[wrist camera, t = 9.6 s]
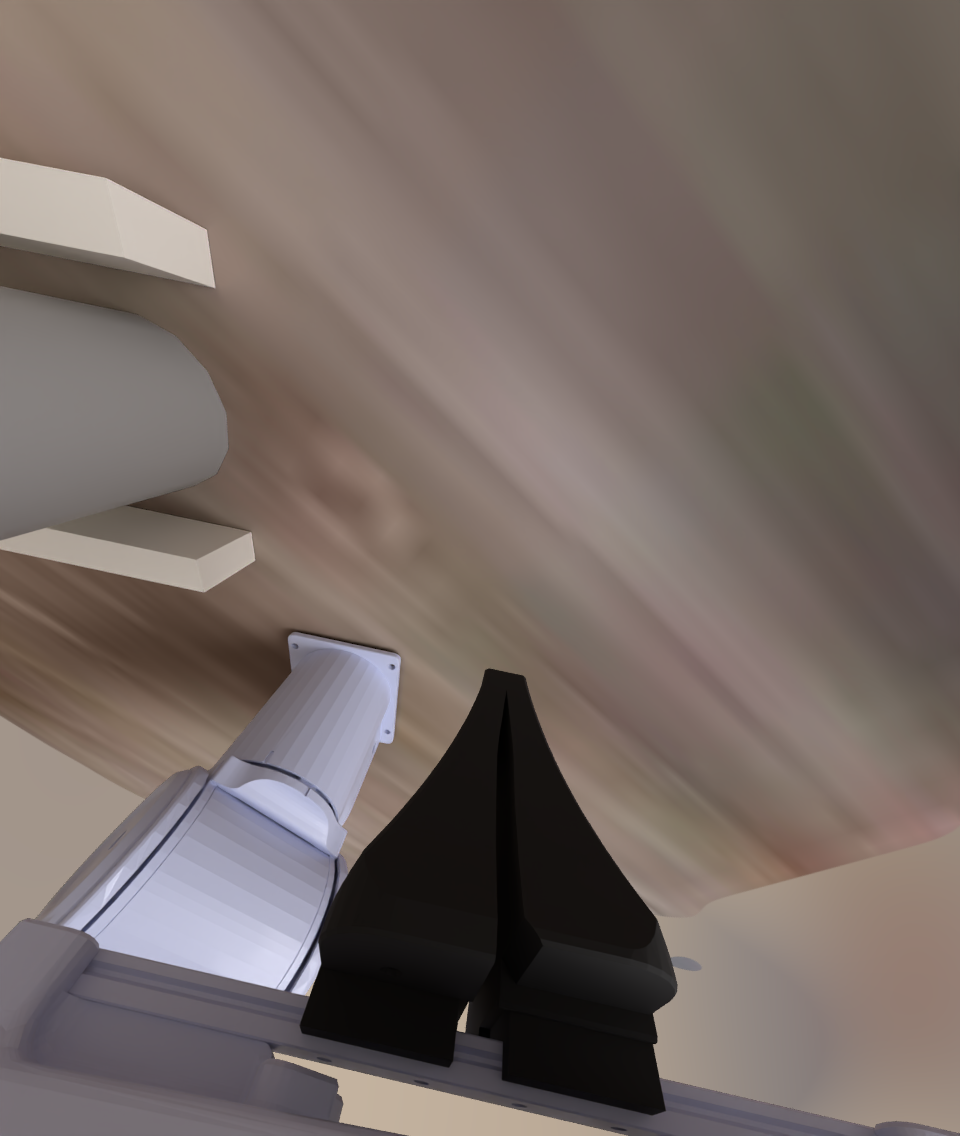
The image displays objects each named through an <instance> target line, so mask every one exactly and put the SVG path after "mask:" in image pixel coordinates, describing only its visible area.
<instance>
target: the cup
mask: <svg viewBox="0 0 960 1136" xmlns="http://www.w3.org/2000/svg"><path fill="white" fill-rule="evenodd" d="M228 449H229V446H228V431H227V416H226V411H225V409H224V406H223V404H222V402H221V400H220V398H219V395H218V393H217V391H216V389H215V387H214V384H213V382H212V380H211V378H210V375H209V373H208V372H207V370H206V369H205V368H204V367H203V366H202V365H201V364H200V363H199V361H198V360H197V359H196V358H195V357H194V356H193V355H192V354H191V352H190V351H189V350H188V349H187V348H186V347H185V346H184V345H183V343H182V342H181V341H180V340H179V339H178V338H177V337H176V336H175V335H173V334H171V333H170V332H168V331H166V330H164V329H162V328H161V327H159V326H157V325H155V324H154V323H152V322H150V321H148V320H146V319H145V318H143V317H141V316H139V315H138V314H134V313H129V312H124V311H119V310H114V309H110V308H105V307H100V306H95V305H90V304H85V303H80V302H76V301H71V300H66V299H61V298H56V297H51V296H47V295H42V294H37V293H32V292H27V291H22V290H18V289H13V288H8V287H3V286H0V541H1V540H4V539H8V538H11V537H15V536H18V535H22V534H26V533H29V532H33V531H36V530H40V529H43V528H47V527H50V526H54V525H58V524H61V523H65V522H68V521H72V520H75V519H79V518H82V517H86V516H89V515H93V514H97V513H100V512H104V511H107V510H111V509H114V508H118V507H121V506H125V505H129V504H132V503H136V502H139V501H143V500H146V499H150V498H153V497H157V496H160V495H164V494H168V493H171V492H175V491H178V490H182V489H185V488H189V487H192V486H195V485H197V484H199V483H201V482H203V481H204V480H206V479H208V478H210V477H212V476H214V475H216V474H217V472H218V470H219V468H220V466H221V464H222V462H223V460H224V457H225V455H226V453H227V451H228Z"/></svg>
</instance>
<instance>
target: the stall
mask: <svg viewBox="0 0 960 1136" xmlns="http://www.w3.org/2000/svg"><path fill="white" fill-rule="evenodd" d="M0 246H2V247H7V248H12V249H18V250H23V251H28V252H33V253H38V254H43V255H48V256H53V257H58V258H63V259H69V260H74V261H79V262H84V263H89V264H94V265H99V266H104V267H109V268H115V269H120V270H125V271H130V272H135V273H140V274H145V275H150V276H155V277H160V278H166V279H171V280H176V281H181V282H186V283H191V284H196V285H201V286H206V287H211V288H215V282H214V276H213V269H212V262H211V255H210V248H209V242H208V235H207V230H206V229H204V228H202V227H200V226H199V225H197V224H195V223H193V222H191V221H189V220H187V219H185V218H183V217H181V216H179V215H177V214H175V213H173V212H171V211H169V210H167V209H165V208H163V207H162V206H160V205H158V204H156V203H154V202H152V201H150V200H148V199H146V198H144V197H142V196H140V195H138V194H136V193H134V192H132V191H130V190H128V189H127V188H125V187H123V186H121V185H119V184H117V183H115V182H113V181H111V180H109V179H107V178H103V177H98V176H93V175H88V174H82V173H77V172H72V171H67V170H61V169H56V168H51V167H46V166H41V165H35V164H30V163H25V162H20V161H14V160H9V159H4V158H0ZM0 549H2V550H6V551H11V552H16V553H21V554H25V555H30V556H35V557H39V558H44V559H49V560H54V561H58V562H63V563H68V564H72V565H77V566H82V567H86V568H91V569H96V570H101V571H105V572H110V573H115V574H119V575H124V576H129V577H133V578H138V579H143V580H148V581H152V582H157V583H162V584H166V585H171V586H176V587H181V588H185V589H190V590H195V591H199V592H206V591H208V590H209V589H211V588H212V587H214V586H216V585H217V584H219V583H220V582H222V581H224V580H225V579H227V578H228V577H230V576H232V575H233V574H235V573H236V572H238V571H239V570H241V569H243V568H244V567H246V566H247V565H249V564H251V563H252V562H254V561H255V554H254V547H253V541H252V534H251V532H250V531H245V530H240V529H235V528H231V527H226V526H221V525H216V524H211V523H207V522H202V521H197V520H192V519H188V518H183V517H178V516H173V515H168V514H164V513H159V512H154V511H149V510H144V509H140V508H135V507H130V506H121V507H118V508H114V509H111V510H107V511H104V512H100V513H97V514H93V515H89V516H86V517H82V518H79V519H75V520H72V521H68V522H65V523H61V524H58V525H54V526H50V527H47V528H43V529H40V530H36V531H33V532H29V533H26V534H22V535H18V536H15V537H11V538H8V539H4V540H1V541H0Z"/></svg>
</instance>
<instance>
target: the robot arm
mask: <svg viewBox="0 0 960 1136" xmlns="http://www.w3.org/2000/svg"><path fill="white" fill-rule="evenodd" d="M288 644H289V653H290V662H291V671H292V672H291V673H290V675H289V676H288V677H287V678H286V679H285V681H284V682H283V683H282V684H281V685H280V687H279V688H278V689H277V690H276V692H275V693H274V694H273V695H272V696H271V698H270V699H269V700H268V701H267V702H266V704H265V705H264V706H263V707H262V708H261V710H260V711H259V712H258V713H257V715H256V716H255V717H254V718H253V719H252V721H251V722H250V723H249V724H248V725H247V727H246V728H245V729H244V730H243V731H242V733H241V734H240V735H239V736H238V737H237V739H236V740H235V741H234V742H233V744H232V745H231V746H230V747H229V748H228V750H227V751H226V752H225V753H224V754H223V756H222V757H221V758H220V759H219V760H218V762H217V763H216V764H215V765H214V767H213V768H211V769H210V770H208V771H207V770H206V769H204V768H203V767H201V766H195V767H193V768H191V769H190V770H184V771H180V772H177V773H175V774H173V775H172V776H170V777H169V778H168V779H167V780H166V781H164V782H163V783H162V784H161V785H160V786H159V787H158V788H157V789H155V790H154V791H153V792H152V793H151V794H150V795H149V796H148V797H147V798H146V799H145V800H144V801H143V802H142V803H141V804H140V805H139V806H138V807H137V808H136V809H135V810H134V811H133V812H132V813H131V814H130V815H129V816H128V817H127V818H126V819H125V820H124V821H123V822H122V823H121V824H120V825H119V826H118V827H117V828H116V829H115V830H114V831H113V832H112V833H111V834H110V835H109V836H108V837H107V838H106V839H105V840H104V841H103V843H102V844H101V845H100V846H99V847H98V848H97V849H96V850H95V851H94V852H93V853H92V854H91V855H90V856H89V857H88V858H87V860H86V861H85V862H84V863H83V864H82V865H81V866H80V867H79V868H78V869H77V870H76V872H75V873H74V874H73V875H72V876H71V877H70V878H69V879H68V881H67V882H66V883H65V884H64V885H63V886H62V887H61V888H60V890H59V891H58V892H57V893H56V894H55V895H54V897H53V898H52V899H51V900H50V901H49V902H48V904H47V905H46V906H45V907H44V909H43V910H42V911H41V912H40V914H39V915H38V916H37V917H36V918H35V919H31V918H27V919H24V920H22V921H20V922H19V923H18V924H17V925H16V926H15V927H14V928H13V929H12V930H11V931H10V932H9V933H8V934H7V935H6V936H5V937H4V939H3V940H2V941H1V942H0V1136H407V1135H401V1134H396V1133H391V1132H386V1131H380V1130H375V1129H371V1128H365V1127H360V1126H355V1125H350V1124H344V1123H339V1119H340V1114H341V1111H342V1107H343V1101H342V1097H341V1096H339V1095H338V1094H337V1091H338V1082H337V1079H335V1078H332V1077H329V1076H327V1075H324V1074H321V1073H318V1072H316V1071H313V1070H310V1069H307V1068H304V1067H302V1066H299V1065H296V1064H294V1063H290V1062H287V1061H283V1060H279V1059H275V1057H274V1054H273V1052H276V1053H281V1054H285V1055H289V1056H293V1057H298V1058H302V1059H306V1060H311V1061H314V1062H319V1063H323V1064H327V1065H332V1066H336V1067H340V1068H344V1069H348V1070H353V1071H357V1072H361V1073H365V1074H370V1075H374V1076H379V1077H382V1078H387V1079H391V1080H395V1081H399V1082H403V1083H408V1084H412V1085H416V1086H421V1087H425V1088H429V1089H433V1090H437V1091H442V1092H446V1093H450V1094H454V1095H458V1096H463V1097H467V1098H471V1099H476V1100H480V1101H484V1102H488V1103H493V1104H497V1105H501V1106H506V1107H509V1108H514V1109H518V1110H523V1111H526V1112H530V1113H535V1114H539V1115H543V1116H548V1117H552V1118H556V1119H560V1120H564V1121H569V1122H573V1123H577V1124H581V1125H586V1126H590V1127H594V1128H599V1129H603V1130H607V1131H611V1132H615V1133H619V1134H624V1135H628V1136H960V1133H955V1132H951V1131H947V1130H942V1129H938V1128H934V1127H929V1126H925V1125H920V1124H916V1123H909V1122H897V1121H895V1122H884V1123H880V1124H876V1126H875V1128H872V1127H868V1126H864V1125H860V1124H855V1123H851V1122H847V1121H842V1120H838V1119H834V1118H829V1117H825V1116H821V1115H817V1114H812V1113H808V1112H804V1111H799V1110H795V1109H791V1108H787V1107H782V1106H778V1105H774V1104H769V1103H765V1102H760V1101H756V1100H752V1099H748V1098H743V1097H739V1096H735V1095H730V1094H726V1093H722V1092H717V1091H713V1090H709V1089H705V1088H700V1087H696V1086H692V1085H688V1084H683V1083H679V1082H675V1081H670V1080H666V1079H662V1078H659V1073H658V1068H657V1063H656V1058H655V1053H654V1048H653V1044H656V1043H657V1032H656V1027H655V1022H654V1017H653V1013H654V1012H655V1011H656V1010H658V1009H659V1008H660V1007H662V1006H664V1005H665V1004H667V1003H668V1002H670V1001H671V999H673V997H674V996H675V994H676V992H677V981H676V977H675V973H674V970H673V966H672V962H671V958H670V955H669V952H668V949H667V946H666V944H665V940H664V938H663V935H662V932H661V929H660V926H659V923H658V921H657V919H656V917H655V916H654V915H653V913H652V912H651V911H650V910H649V908H648V907H647V906H646V904H645V903H644V902H643V900H642V899H641V898H640V896H639V895H638V894H637V892H636V891H635V890H634V888H633V887H632V886H631V884H630V883H629V882H628V880H627V879H626V877H625V876H624V875H623V873H622V872H621V870H620V869H619V867H618V866H617V865H616V863H615V862H614V860H613V859H612V857H611V856H610V854H609V853H608V852H607V850H606V849H605V847H604V845H603V844H602V842H601V841H600V839H599V838H598V836H597V834H596V833H595V831H594V830H593V828H592V826H591V825H590V823H589V822H588V820H587V819H586V817H585V815H584V814H583V812H582V810H581V809H580V807H579V805H578V803H577V802H576V800H575V798H574V796H573V794H572V793H571V791H570V789H569V787H568V785H567V783H566V781H565V779H564V778H563V776H562V774H561V772H560V770H559V767H558V765H557V763H556V761H555V759H554V757H553V754H552V752H551V750H550V748H549V746H548V743H547V741H546V738H545V736H544V733H543V731H542V728H541V726H540V723H539V720H538V718H537V715H536V712H535V709H534V706H533V703H532V700H531V697H530V693H529V690H528V686H527V682H526V678H525V677H524V676H523V675H518V674H513V673H508V672H503V671H499V670H494V669H487V670H485V673H484V677H483V681H482V686H481V688H480V691H479V693H478V696H477V698H476V700H475V702H474V704H473V706H472V709H471V711H470V713H469V715H468V717H467V718H466V720H465V722H464V724H463V725H462V727H461V729H460V730H459V732H458V734H457V736H456V737H455V739H454V741H453V742H452V744H451V745H450V747H449V748H448V750H447V751H446V753H445V754H444V756H443V757H442V759H441V760H440V761H439V763H438V764H437V766H436V767H435V768H434V770H433V771H432V772H431V774H430V775H429V776H428V778H427V779H426V780H425V782H424V783H423V784H422V785H421V787H420V788H419V789H418V790H417V792H416V793H415V794H414V795H413V796H412V798H411V799H410V800H409V801H408V802H407V803H406V805H405V806H404V807H403V808H402V809H401V811H400V812H399V813H398V814H397V815H396V816H395V817H394V819H393V820H392V821H391V822H390V823H389V824H388V825H387V826H386V827H385V828H384V829H383V830H382V831H381V832H380V833H379V835H378V836H377V837H376V838H375V839H374V840H373V841H372V842H371V843H370V844H369V845H368V846H367V847H366V848H365V849H364V851H363V852H362V854H361V855H360V857H359V858H358V860H357V861H356V863H355V864H354V866H353V867H352V869H351V870H350V872H349V874H348V868H347V863H346V860H345V859H344V857H343V856H342V855H341V854H339V852H340V849H341V847H342V844H343V842H344V839H345V837H346V834H347V830H346V829H344V828H343V827H342V825H343V824H344V822H345V821H346V819H347V818H348V816H349V814H350V812H351V810H352V807H353V805H354V803H355V800H356V798H357V795H358V793H359V790H360V788H361V785H362V783H363V781H364V778H365V776H366V773H367V771H368V768H369V766H370V764H371V761H372V759H373V756H374V754H375V751H376V749H377V746H378V744H379V742H382V743H387V744H389V743H391V742H392V741H393V738H394V731H395V719H396V708H397V697H398V686H399V674H400V663H401V658H400V656H399V655H398V654H396V653H392V652H388V651H383V650H378V649H374V648H369V647H364V646H360V645H355V644H350V643H346V642H341V641H336V640H331V639H327V638H322V637H317V636H313V635H308V634H303V633H299V632H293V633H291V634H290V635H289V636H288ZM296 644H297V645H296ZM391 664H393V665H394V666H393V665H391ZM315 979H316V980H315ZM314 980H315V982H314ZM313 982H314V985H313V988H312V991H311V994H310V997H309V996H305V994H306V993H307V991H308V990H309V988H310V987H311V985H312V984H313ZM468 1002H469V1007H468V1014H467V1022H466V1032H465V1033H464V1032H459V1031H457V1025H458V1020H459V1019H460V1017H461V1015H462V1013H463V1011H464V1009H465V1007H466V1005H467V1004H468Z"/></svg>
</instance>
